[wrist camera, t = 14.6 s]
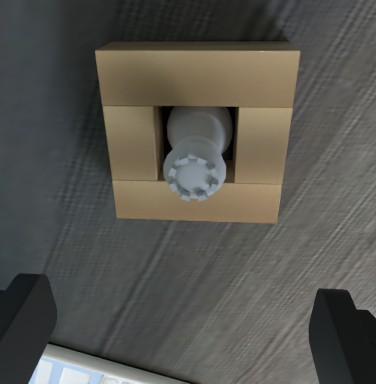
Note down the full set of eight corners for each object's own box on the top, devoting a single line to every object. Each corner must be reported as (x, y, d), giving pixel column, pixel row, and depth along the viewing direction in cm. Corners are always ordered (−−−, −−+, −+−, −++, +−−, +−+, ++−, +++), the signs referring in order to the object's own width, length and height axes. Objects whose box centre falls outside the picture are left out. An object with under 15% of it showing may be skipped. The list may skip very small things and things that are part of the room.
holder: (111, 41, 22) (94, 50, 19) (289, 41, 21) (301, 50, 18) (127, 193, 28) (116, 218, 25) (270, 196, 27) (276, 223, 24)
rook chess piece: (160, 100, 24) (137, 147, 17) (227, 86, 23) (230, 129, 16) (176, 160, 26) (161, 223, 19) (237, 149, 25) (245, 211, 18)
